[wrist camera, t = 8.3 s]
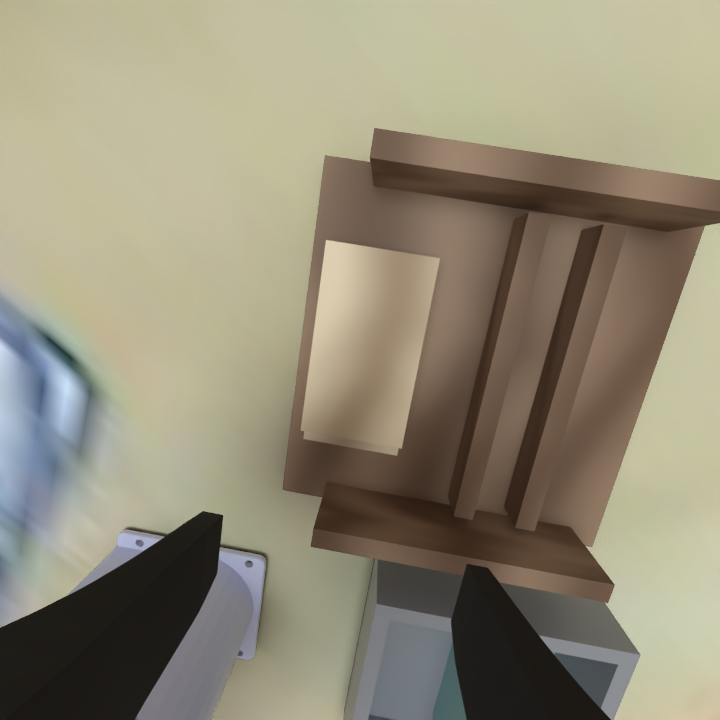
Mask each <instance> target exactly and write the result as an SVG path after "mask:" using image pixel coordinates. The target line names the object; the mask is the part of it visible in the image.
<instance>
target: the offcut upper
mask: <svg viewBox="0 0 720 720" xmlns="http://www.w3.org/2000/svg"><path fill="white" fill-rule="evenodd" d="M439 262H440V258H435V257H429V256H423V255H416V254H410V253H404V252H398V251H392V250H386V249H379V248H373V247H367V246H361V245H355V244H349V243H342V242H336V241H330V240H326V244H325V251H324V259H323V266H322V273H321V281H320V288H319V296H318V303H317V311H316V318H315V326H314V333H313V341H312V348H311V356H310V363H309V371H308V378H307V386H306V393H305V401H304V408H303V416H302V423H301V431H306V432H311V433H317V434H323V435H328V436H334V437H339V438H345V439H351V440H356V441H362V442H367V443H373V444H378V445H384V446H390V447H395V448H401V449H402V445H403V440H404V435H405V430H406V425H407V420H408V415H409V410H410V405H411V400H412V395H413V390H414V385H415V380H416V375H417V370H418V365H419V360H420V355H421V351H422V346H423V341H424V336H425V331H426V326H427V321H428V316H429V311H430V306H431V301H432V296H433V291H434V286H435V281H436V276H437V271H438V266H439Z"/></svg>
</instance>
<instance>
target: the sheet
mask: <svg viewBox="0 0 720 720" xmlns="http://www.w3.org/2000/svg"><path fill="white" fill-rule="evenodd" d="M433 720H467V719H466V714H465V709H464V705H463V700H462V695H461V690H460V685H459V680H458V675H457V670H456V665H455V657H454V649H453V641H452V645H451V649H450V652H449V656H448V660H447V663H446V667H445V670H444V674H443V678H442V681H441V685H440V688H439V692H438V696H437V699H436V703H435V706H434V710H433Z"/></svg>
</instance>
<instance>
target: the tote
mask: <svg viewBox="0 0 720 720" xmlns="http://www.w3.org/2000/svg"><path fill="white" fill-rule="evenodd" d="M462 579H463V575H458V574H453V573H448V572H442V571H437V570H432V569H426V568H421V567H416V566H411V565H405V564H400V563H395V562H389V561H384V560H379V559H374V564H373V569H372V574H371V579H370V584H369V589H368V594H367V599H366V604H365V609H364V614H363V619H362V624H361V629H360V634H359V639H358V644H357V649H356V654H355V659H354V664H353V669H352V674H351V679H350V684H349V689H348V694H347V700H346V705H345V710H344V720H433V710H434V706H435V703H436V699H437V696H438V692H439V688H440V685H441V681H442V678H443V674H444V670H445V667H446V663H447V660H448V656H449V652H450V649H451V645H452V641H453V639H452V628H451V619H452V615H453V612H454V608H455V604H456V601H457V597H458V594H459V590H460V587H461V583H462ZM499 583H500V582H499ZM500 584H501V586H502V587H503V588H504V590H505V591H506V592H507V594H508V595H509V597H510V598H511V599H512V601H513V602H514V603H515V605H516V606H517V607H518V609H519V610H520V611H521V613H522V614H523V615H524V617H525V618H526V619H527V621H528V622H529V623H530V625H531V626H532V627H533V629H534V630H535V631H536V632H537V634H538V635H539V636H540V638H541V639H542V640H543V641H544V643H545V644H546V645H547V646H548V648H549V649H550V650H551V651H552V653H553V654H554V655H555V656H556V658H557V659H558V660H559V661H560V662H561V664H562V665H563V666H564V667H565V668H566V670H567V671H568V672H569V673H570V674H571V675H572V677H573V678H574V679H575V680H576V681H577V683H578V684H579V685H580V686H581V687H582V688H583V690H584V691H585V692H586V693H587V694H588V695H589V696H590V697H591V699H592V700H593V701H594V702H595V703H596V704H597V705H598V706H599V707H600V708H601V709H602V710H603V712H604V713H605V714H606V715H607V716H608V717H609V718H610V719H611V720H614V717H615V715H616V712H617V710H618V708H619V705H620V703H621V700H622V698H623V696H624V693H625V691H626V688H627V686H628V684H629V681H630V679H631V676H632V674H633V672H634V669H635V667H636V664H637V662H638V660H639V657H640V654H639V652H638V651H637V649H636V648H635V646H634V645H633V643H632V642H631V640H630V639H629V638H628V636H627V635H626V633H625V632H624V630H623V629H622V627H621V626H620V624H619V623H618V622H617V620H616V619H615V617H614V616H613V614H612V613H611V611H610V610H609V608H608V607H607V606H606V604H605V603H604V602H601V601H596V600H590V599H585V598H580V597H575V596H569V595H564V594H559V593H553V592H548V591H543V590H537V589H532V588H527V587H522V586H516V585H511V584H506V583H500Z"/></svg>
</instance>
